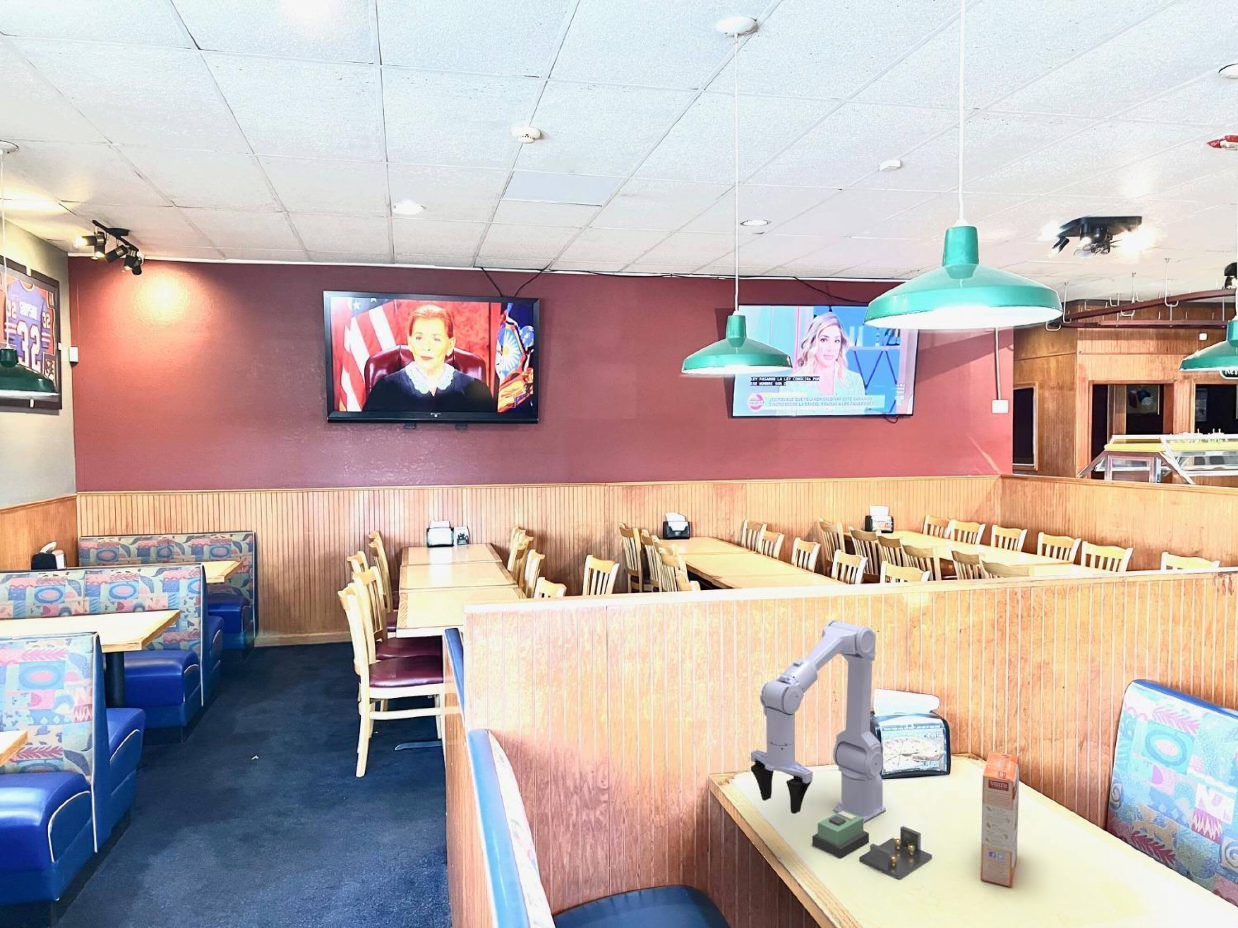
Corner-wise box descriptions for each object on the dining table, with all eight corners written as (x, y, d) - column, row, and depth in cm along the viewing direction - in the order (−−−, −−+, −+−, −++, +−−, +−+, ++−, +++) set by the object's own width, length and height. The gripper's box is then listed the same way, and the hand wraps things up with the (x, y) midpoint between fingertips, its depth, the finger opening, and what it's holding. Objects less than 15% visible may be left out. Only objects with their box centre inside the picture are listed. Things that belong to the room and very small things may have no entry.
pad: (840, 829, 176) (840, 820, 176) (868, 842, 170) (868, 832, 170) (812, 845, 169) (812, 835, 169) (840, 858, 164) (840, 848, 164)
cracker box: (1014, 889, 152) (1015, 780, 152) (979, 880, 155) (980, 774, 155) (1019, 855, 165) (1020, 754, 164) (987, 848, 168) (987, 748, 167)
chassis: (892, 841, 171) (892, 821, 170) (932, 858, 164) (932, 837, 164) (859, 860, 163) (859, 840, 163) (899, 879, 156) (899, 858, 156)
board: (843, 823, 175) (843, 806, 174) (863, 831, 171) (863, 815, 171) (817, 836, 169) (817, 819, 169) (838, 846, 165) (838, 828, 165)
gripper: (740, 734, 169) (741, 798, 169) (796, 756, 157) (796, 824, 158) (763, 726, 173) (763, 788, 174) (819, 746, 162) (819, 813, 162)
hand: (780, 805), depth 166 cm, fingers open, 7 cm apart
